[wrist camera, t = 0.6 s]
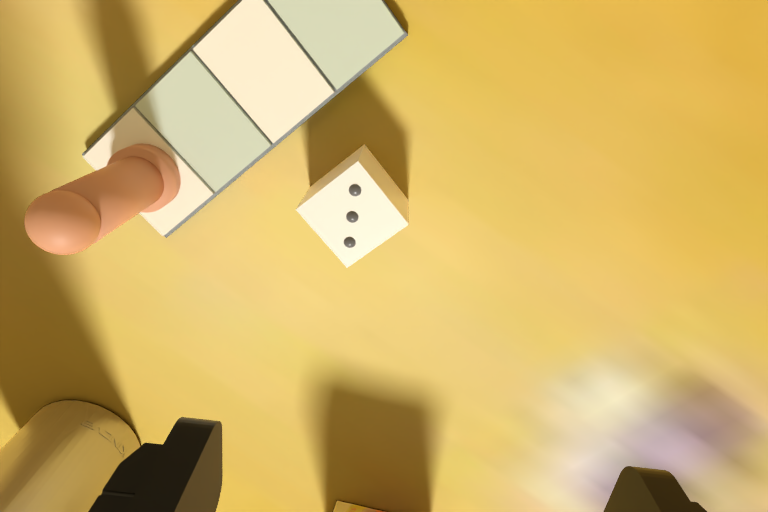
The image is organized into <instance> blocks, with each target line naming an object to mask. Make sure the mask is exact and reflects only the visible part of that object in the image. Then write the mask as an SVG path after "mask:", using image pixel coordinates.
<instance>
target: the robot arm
mask: <svg viewBox="0 0 768 512" xmlns="http://www.w3.org/2000/svg"><path fill="white" fill-rule="evenodd" d="M221 486H222V424H221V422H220V421H212V420H203V419H194V418H185V417H181V418H179V419H178V421H177V422H176V423H175V425H174V427H173V428H172V430H171V432H170V434H169V435H168V437H167V439H166V441H165V442H164V444H163V445H161V444H152V443H144V444H143V445H142V446H141V447H140V444H139V441H138V439H137V437H136V435H135V433H134V432H133V431H132V429H131V428H130V427H129V426H128V425H127V424H126V423H125V422H124V421H123V420H122V419H121V418H119V417H118V416H117V415H115V414H114V413H112V412H111V411H109V410H107V409H104V408H102V407H100V406H98V405H94V404H91V403H88V402H83V401H76V400H63V401H58V402H53V403H51V404H49V405H46V406H44V407H43V408H42V409H40V410H39V411H38V412H37V413H36V414H35V415H34V416H33V417H32V418H31V419H30V420H29V421H28V422H27V423H26V424H25V425H24V426H23V427H22V428H21V429H20V430H19V431H18V432H17V433H16V434H15V435H14V437H13V438H12V439H11V440H10V441H9V442H8V443H7V444H6V445H5V446H4V447H3V448H2V449H1V450H0V512H215V511H216V508H217V505H218V501H219V497H220V492H221ZM604 512H707V511H706V510H705V509H704V508H703V507H701V506H700V505H699V504H698V503H697V502H690V500H689V499H688V497H687V496H686V494H685V492H684V491H683V489H682V488H681V486H680V485H679V483H678V482H677V480H676V479H675V477H674V476H673V475H672V474H671V473H670V472H668V471H666V470H658V469H649V468H640V467H631V466H627V467H625V468H624V469H623V470H622V471H621V473H620V475H619V478H618V480H617V482H616V485H615V487H614V489H613V491H612V494H611V496H610V498H609V501H608V503H607V505H606V507H605V510H604Z"/></svg>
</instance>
